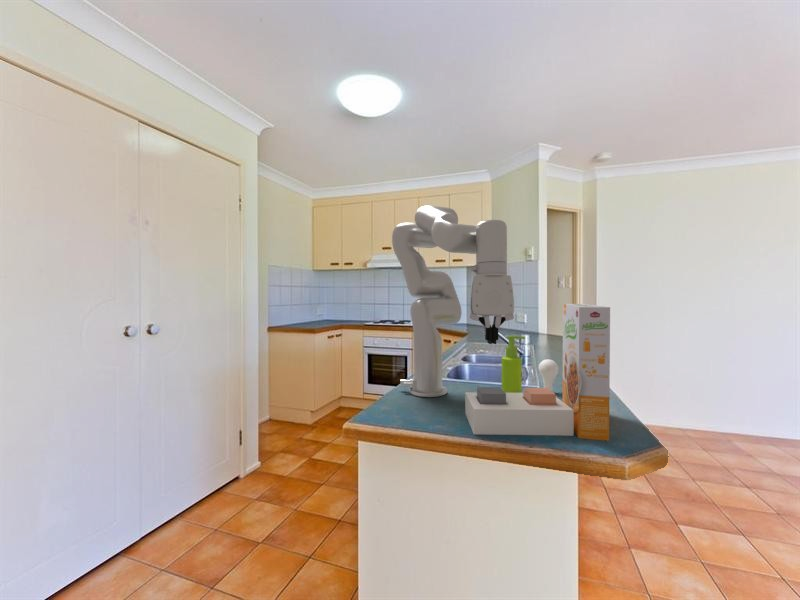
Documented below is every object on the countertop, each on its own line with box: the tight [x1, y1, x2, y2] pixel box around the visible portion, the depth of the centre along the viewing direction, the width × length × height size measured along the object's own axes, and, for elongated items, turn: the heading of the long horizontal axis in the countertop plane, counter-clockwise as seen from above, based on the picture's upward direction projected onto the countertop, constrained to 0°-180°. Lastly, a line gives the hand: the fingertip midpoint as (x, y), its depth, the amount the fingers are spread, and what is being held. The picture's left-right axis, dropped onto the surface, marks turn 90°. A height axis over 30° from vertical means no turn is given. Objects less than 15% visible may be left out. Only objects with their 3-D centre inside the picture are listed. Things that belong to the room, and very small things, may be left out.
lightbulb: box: [538, 358, 560, 392], centre depth 118 cm, size 6×6×11 cm
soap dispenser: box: [501, 334, 526, 393], centre depth 110 cm, size 6×7×20 cm
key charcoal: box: [476, 386, 506, 405], centre depth 90 cm, size 6×6×4 cm
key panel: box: [464, 391, 575, 437], centre depth 90 cm, size 23×14×6 cm, turn 88°
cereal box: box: [561, 303, 611, 442], centre depth 91 cm, size 22×6×30 cm, turn 164°
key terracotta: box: [522, 387, 557, 405], centre depth 90 cm, size 6×6×4 cm
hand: (491, 343), depth 90 cm, fingers closed
